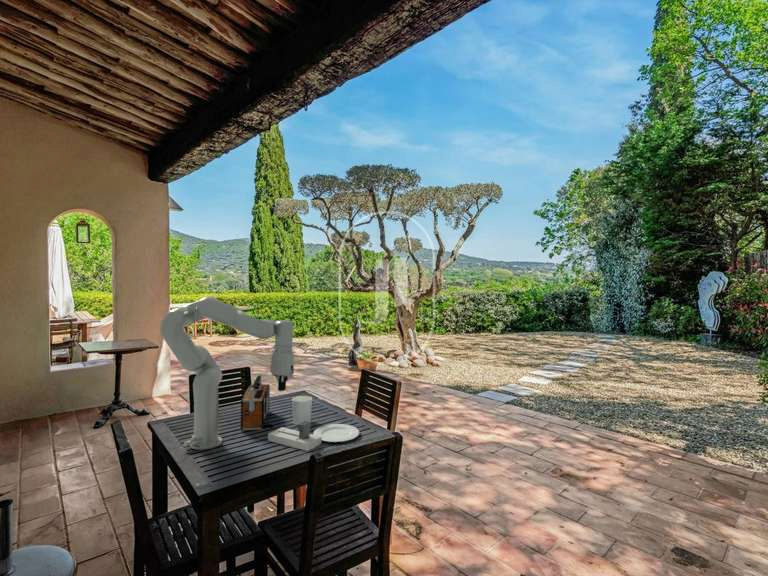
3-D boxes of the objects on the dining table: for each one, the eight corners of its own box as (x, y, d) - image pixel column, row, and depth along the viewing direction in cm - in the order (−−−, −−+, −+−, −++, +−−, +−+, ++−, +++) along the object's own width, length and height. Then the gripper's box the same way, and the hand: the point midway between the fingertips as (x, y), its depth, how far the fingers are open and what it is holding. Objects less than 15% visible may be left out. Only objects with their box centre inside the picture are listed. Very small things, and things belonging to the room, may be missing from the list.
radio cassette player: (263, 432, 185) (263, 389, 185) (239, 433, 183) (240, 389, 183) (269, 411, 214) (270, 373, 214) (249, 412, 212) (249, 374, 212)
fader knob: (303, 439, 169) (303, 425, 169) (297, 438, 171) (298, 424, 170) (310, 435, 174) (311, 422, 173) (305, 434, 175) (305, 420, 175)
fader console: (308, 451, 166) (308, 443, 165) (267, 440, 176) (268, 433, 175) (321, 443, 174) (321, 436, 173) (281, 433, 184) (282, 426, 183)
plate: (325, 449, 168) (325, 445, 168) (305, 433, 185) (305, 429, 185) (368, 439, 180) (368, 435, 180) (345, 424, 197) (345, 420, 197)
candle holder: (313, 425, 195) (314, 400, 195) (293, 427, 191) (293, 402, 191) (309, 418, 204) (310, 394, 204) (290, 420, 201) (290, 396, 200)
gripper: (264, 347, 177) (262, 389, 177) (291, 351, 170) (289, 395, 170) (276, 345, 183) (274, 385, 184) (302, 349, 177) (300, 391, 177)
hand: (281, 390), depth 177 cm, fingers closed
